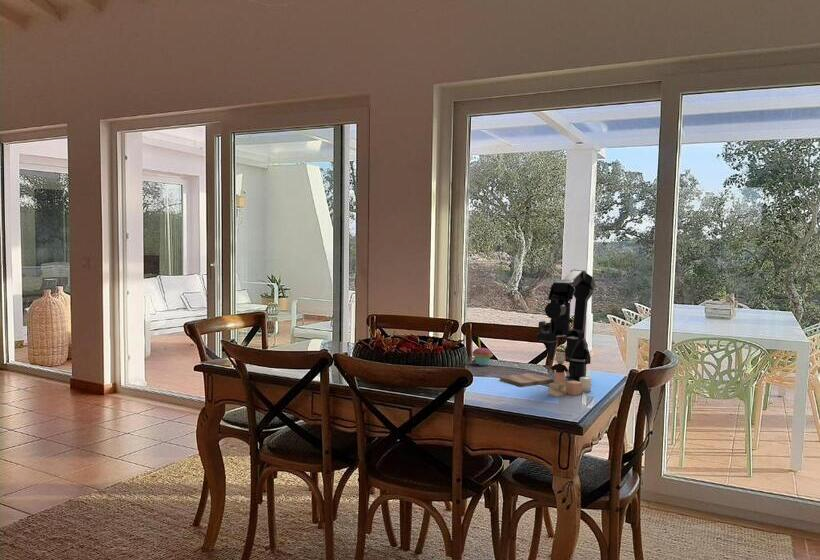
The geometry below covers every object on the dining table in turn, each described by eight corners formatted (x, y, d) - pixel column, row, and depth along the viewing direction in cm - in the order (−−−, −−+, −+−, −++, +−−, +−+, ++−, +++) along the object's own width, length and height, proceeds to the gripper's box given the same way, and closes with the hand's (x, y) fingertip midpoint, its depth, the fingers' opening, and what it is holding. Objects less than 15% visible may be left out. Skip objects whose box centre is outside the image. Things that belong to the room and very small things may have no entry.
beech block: (557, 393, 231) (557, 381, 230) (565, 395, 227) (565, 384, 227) (548, 394, 228) (549, 383, 228) (557, 396, 225) (557, 385, 225)
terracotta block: (573, 391, 233) (573, 380, 233) (581, 393, 230) (582, 382, 230) (565, 392, 231) (565, 381, 231) (573, 395, 228) (574, 383, 228)
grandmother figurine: (570, 389, 237) (572, 354, 236) (568, 391, 233) (570, 356, 232) (549, 386, 240) (550, 352, 239) (547, 388, 236) (548, 354, 236)
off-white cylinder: (584, 388, 238) (585, 376, 238) (593, 390, 235) (593, 378, 234) (577, 389, 236) (577, 377, 236) (585, 392, 233) (586, 379, 232)
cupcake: (471, 365, 275) (472, 337, 274) (472, 361, 283) (473, 334, 283) (492, 366, 274) (492, 338, 273) (492, 363, 282) (493, 335, 281)
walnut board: (531, 375, 257) (531, 372, 257) (553, 382, 247) (553, 378, 247) (500, 380, 249) (500, 376, 249) (521, 386, 239) (521, 383, 239)
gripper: (563, 312, 247) (562, 352, 248) (527, 314, 237) (525, 357, 238) (586, 315, 237) (584, 358, 238) (549, 318, 227) (547, 362, 228)
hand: (560, 358), depth 236 cm, fingers open, 9 cm apart
